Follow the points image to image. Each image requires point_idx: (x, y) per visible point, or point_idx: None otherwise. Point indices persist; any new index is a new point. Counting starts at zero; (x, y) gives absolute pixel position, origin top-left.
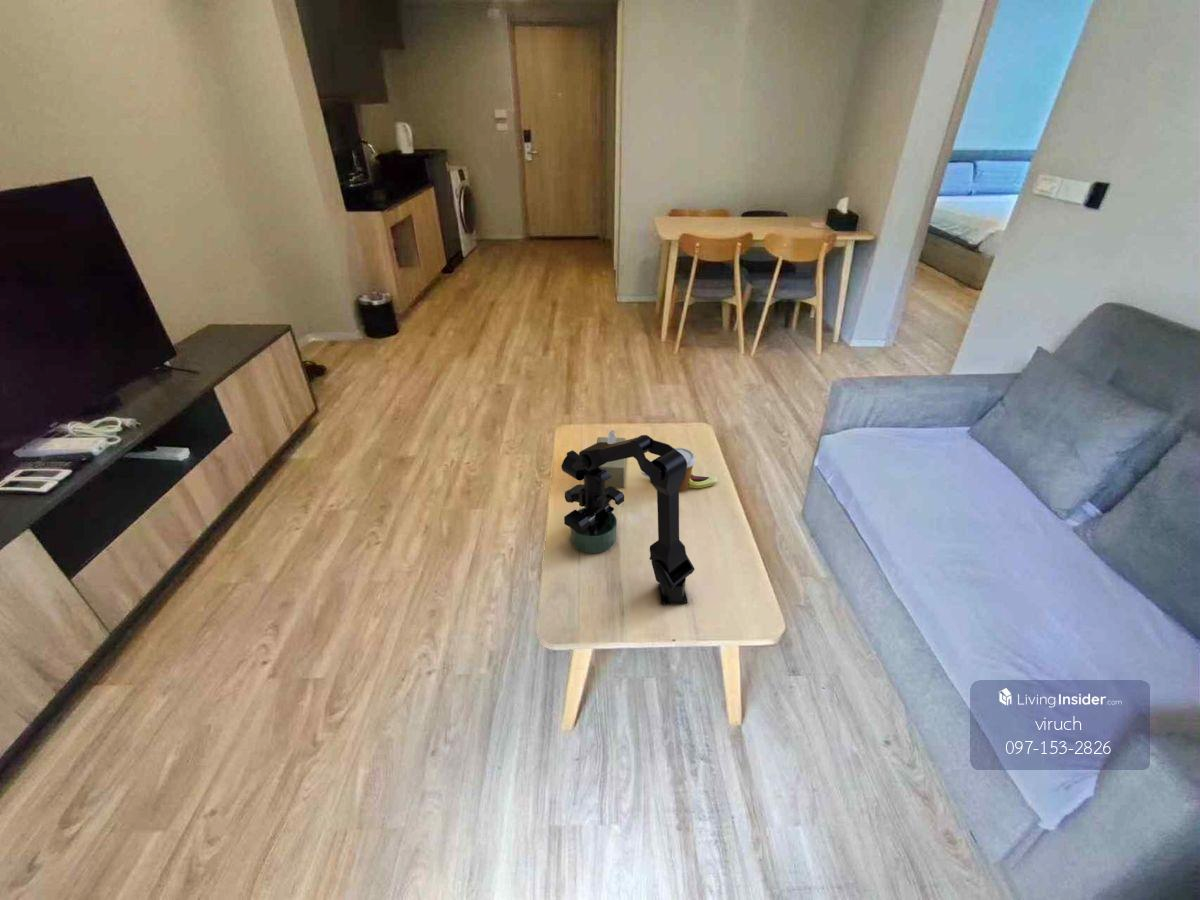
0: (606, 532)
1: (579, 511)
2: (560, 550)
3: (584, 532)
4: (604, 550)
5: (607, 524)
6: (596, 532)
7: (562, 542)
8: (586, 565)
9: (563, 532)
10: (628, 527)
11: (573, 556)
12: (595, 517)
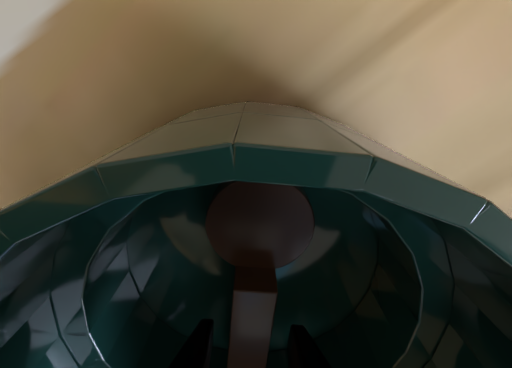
0: (337, 299)
1: (345, 184)
2: (3, 156)
3: (228, 224)
4: None
5: (387, 327)
6: (254, 332)
7: (68, 111)
8: None
9: (157, 30)
10: None
11: None
12: (413, 257)
